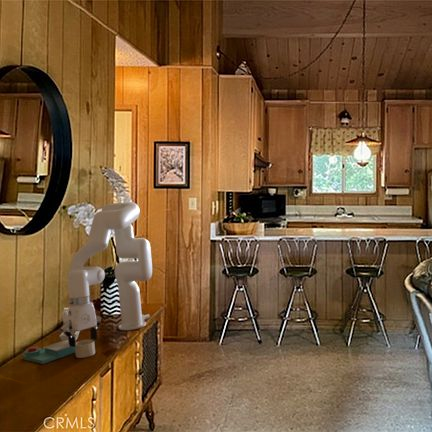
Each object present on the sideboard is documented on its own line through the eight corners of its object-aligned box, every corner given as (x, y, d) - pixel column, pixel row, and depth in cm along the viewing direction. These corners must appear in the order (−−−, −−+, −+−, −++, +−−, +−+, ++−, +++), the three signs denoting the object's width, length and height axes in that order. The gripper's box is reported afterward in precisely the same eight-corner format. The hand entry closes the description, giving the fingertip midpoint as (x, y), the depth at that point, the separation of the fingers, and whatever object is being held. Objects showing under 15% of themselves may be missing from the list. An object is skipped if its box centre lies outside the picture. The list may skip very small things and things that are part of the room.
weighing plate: (66, 348, 208) (65, 339, 208) (80, 351, 203) (79, 342, 203) (43, 355, 200) (42, 347, 200) (57, 359, 195) (56, 350, 194)
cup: (88, 350, 203) (86, 338, 202) (99, 352, 199) (97, 340, 198) (72, 356, 197) (70, 344, 196) (83, 358, 193) (81, 346, 192)
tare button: (34, 349, 201) (34, 345, 201) (39, 350, 199) (38, 346, 199) (26, 352, 198) (26, 348, 198) (31, 353, 196) (30, 349, 196)
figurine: (81, 336, 224) (78, 304, 223) (76, 343, 214) (72, 309, 213) (65, 338, 222) (61, 306, 221) (58, 345, 213) (55, 311, 212)
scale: (59, 346, 211) (58, 339, 211) (79, 350, 203) (78, 343, 203) (22, 359, 198) (21, 351, 198) (42, 364, 190) (41, 356, 190)
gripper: (65, 306, 187) (69, 350, 188) (104, 296, 201) (107, 337, 202) (54, 305, 191) (58, 348, 192) (93, 295, 205) (96, 335, 206)
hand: (83, 342), depth 197 cm, fingers open, 9 cm apart
